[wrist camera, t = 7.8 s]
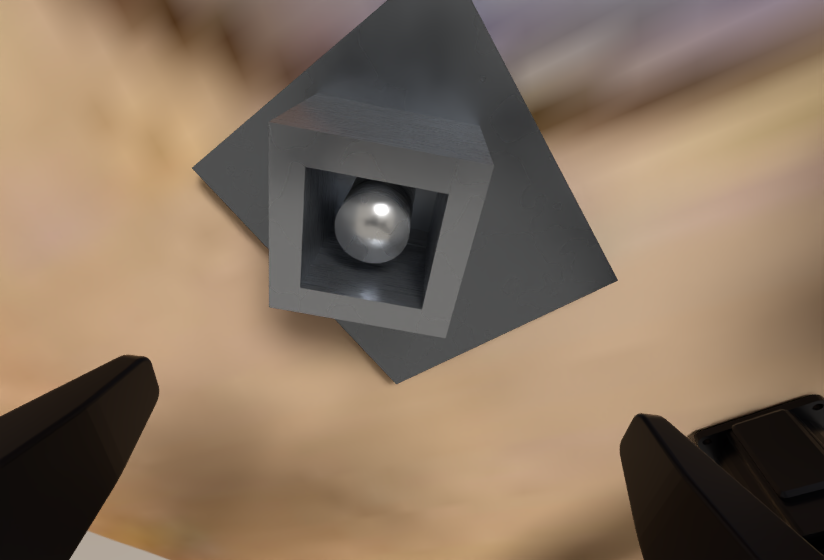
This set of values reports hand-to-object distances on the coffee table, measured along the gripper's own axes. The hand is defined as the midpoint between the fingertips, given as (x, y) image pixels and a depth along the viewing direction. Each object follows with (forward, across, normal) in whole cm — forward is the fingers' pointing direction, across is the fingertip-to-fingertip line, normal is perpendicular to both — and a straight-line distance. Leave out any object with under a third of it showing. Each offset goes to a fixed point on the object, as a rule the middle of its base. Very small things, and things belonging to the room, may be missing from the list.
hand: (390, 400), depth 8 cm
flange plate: (+12, 0, +1) cm, 12 cm away
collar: (+11, +1, 0) cm, 11 cm away
